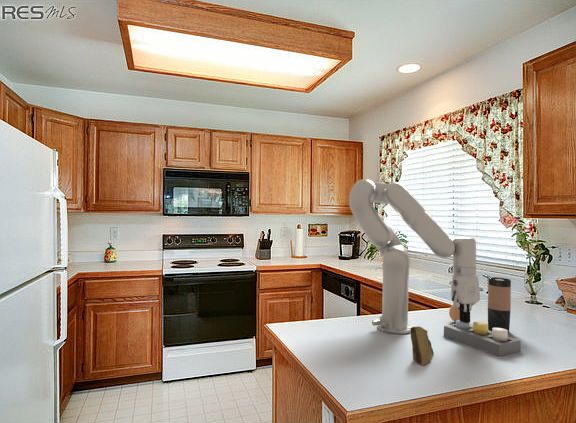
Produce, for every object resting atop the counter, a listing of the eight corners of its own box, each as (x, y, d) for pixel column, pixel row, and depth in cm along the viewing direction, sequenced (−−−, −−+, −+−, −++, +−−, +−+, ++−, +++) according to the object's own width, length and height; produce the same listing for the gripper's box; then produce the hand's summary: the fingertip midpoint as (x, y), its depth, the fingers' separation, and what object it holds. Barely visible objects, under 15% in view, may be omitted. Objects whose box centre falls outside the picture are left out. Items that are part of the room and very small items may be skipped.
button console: (499, 356, 115) (499, 344, 115) (443, 335, 134) (443, 325, 134) (520, 351, 120) (520, 340, 120) (464, 332, 138) (464, 322, 139)
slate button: (463, 333, 130) (463, 324, 130) (453, 329, 134) (453, 320, 134) (471, 331, 132) (472, 322, 132) (461, 328, 136) (461, 319, 136)
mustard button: (482, 335, 124) (482, 326, 124) (470, 331, 128) (470, 322, 128) (490, 334, 126) (490, 324, 126) (478, 330, 130) (478, 321, 130)
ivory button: (502, 342, 117) (502, 332, 117) (489, 338, 121) (489, 328, 121) (510, 340, 119) (510, 330, 119) (497, 336, 123) (497, 326, 123)
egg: (471, 326, 146) (472, 304, 146) (452, 325, 147) (452, 303, 147) (464, 321, 154) (465, 300, 154) (446, 320, 154) (447, 299, 154)
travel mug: (513, 334, 137) (514, 281, 137) (491, 332, 138) (492, 280, 139) (505, 328, 144) (506, 277, 145) (484, 326, 146) (485, 276, 146)
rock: (423, 342, 119) (398, 340, 116) (438, 325, 115) (412, 323, 111) (440, 373, 111) (414, 373, 107) (457, 357, 107) (430, 356, 103)
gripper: (459, 274, 126) (459, 327, 126) (487, 271, 133) (487, 321, 133) (441, 271, 133) (441, 321, 133) (469, 268, 140) (469, 316, 139)
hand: (464, 321), depth 133 cm, fingers closed
